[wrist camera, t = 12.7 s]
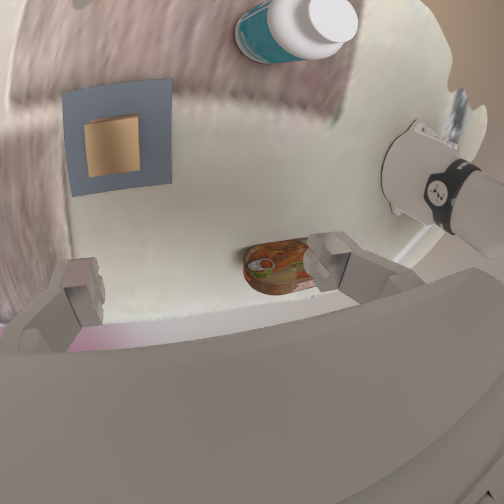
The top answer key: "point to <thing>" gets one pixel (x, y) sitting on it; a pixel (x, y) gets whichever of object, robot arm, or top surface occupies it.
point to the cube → (113, 144)
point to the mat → (114, 104)
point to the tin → (277, 267)
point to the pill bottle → (295, 29)
